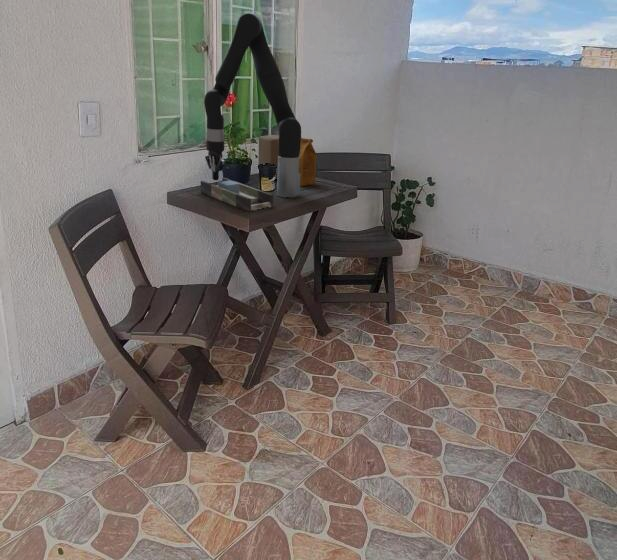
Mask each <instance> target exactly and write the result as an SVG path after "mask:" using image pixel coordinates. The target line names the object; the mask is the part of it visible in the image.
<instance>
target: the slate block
mask: <svg viewBox="0 0 617 560" xmlns="http://www.w3.org/2000/svg"><path fill="white" fill-rule="evenodd" d="M230 180H231V179H229V181H222V180H221V181H218V182H217V185H218V187H221V188H224V189H226V190H229V191H232V192H234V193H239V183H240V182H238V183H236V182H237V181H235V182H233V181H234V180H232V181H230Z"/></svg>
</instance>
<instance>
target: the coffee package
mask: <svg viewBox="0 0 617 560" xmlns="http://www.w3.org/2000/svg"><path fill="white" fill-rule="evenodd" d="M313 142H314V140H313V139H312V138H305V137H304V138H303V137H302V136H301V147H300V154H299V173H300V187H305V186H311V185H312V186H313V185H315V183H316V174H317V173H316V172H317V171H316V167H317V153H316V151H315V148H314V146H313V144H312V143H313Z"/></svg>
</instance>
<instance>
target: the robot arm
mask: <svg viewBox="0 0 617 560" xmlns="http://www.w3.org/2000/svg"><path fill="white" fill-rule="evenodd" d="M248 48H249V49H250V52H251V56H252V60H253V65H254V69H255V73H256V77H257V79H258V82H259V84H260V87H261V89H262V92H263V94H264V96H265V99H266V100H267V102H268V104H269V105H270V107H271V109H272V112H273V115H274V118H275V122H276V125H277V130H278V136H279V148H278V172H277V180H276V184H277V185H276V195H277V196H278V197H281V198H286V197H289V198H290V197H291V198H297V197H298V196H300V190H301V186H300V173H299V154H300V147H301V137H302V127H301V123H300V122H299V121H298V119H297V118H296V115H295V114H294V112H293V110H292V108H291V105H290V104H289V100H288V95H287V91H286V87H285V83H284V80H283V76H282V74H281V71H280V68H279V67H278V64H277V62H276V59H275V57H274V56H273V53H272V51H271V49H270V47H269V44H268V41H267V38H266V34H265V31H264V27H263V22H262V20H261V18H260V17H259V16H258V15H257V14H255V12H245V13H243V14H241V15H240V16H239V17H238V19H237V21H236V26H235V30H234V34H233V37H232V40H231V43H230V46H229V48H228V50H227V52H226V54H225V56H224V59H223V60H222V62H221V65H220V67H219V68H218V70H217V72H216V76H215V77H214V81H215V83H214V86H213V88H212V90H208V91H206V94H205V95H204V100H203V101H204V103H203V104H204V109H205V115H206V135H205V137H206V141H205V142H206V151H208V155H205V156H204V158H205V159H204V160H205V161H206V164H207V167H208V169H209V170H210V171H211V175H212V176H211V177H212V178H211V179H212V180H213V181H218V180H219V179H220V177H219V175H220V174H219V173H220V172H221V171H223V169H224V167H225V165H226V162H227V161H226V159H225V160H224V159H223V152H224V151H225V129H224V127H225V125H224V124H225V119H224V116H223V114H222V108H221V107H222V106H224V104H225V103H226V101H227V100H228V97H229V94H230V90H231V86H232V85H233V83H234V81H235V79H236V77H237V74H238V72H239V70H240V67H241V65H242V62H243V59H244V57H245V54H246V52H247V49H248ZM289 198H288V199H289ZM291 198H290V199H291Z"/></svg>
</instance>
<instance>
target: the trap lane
mask: <svg viewBox="0 0 617 560" xmlns="http://www.w3.org/2000/svg"><path fill="white" fill-rule="evenodd" d="M221 179H222V180H221V182H222V181H229V180H230V181H233V182H236V183H239V193H234V192H232V191H229V190H226V189H224V188H221V187H218V184H217V185H215V184H212V183H210V182H207V181H205V180H200V193H202V194H204V195H207V196H209V197H212V198H214V199H216V200H219V201H221V202H224V203H225V204H229V205H231V206H234V207H236V208H239V209H242V210H244V211H246V210H247V212H252V210H253V211H258V210H257V209H259V210H262V208H264V209H267V208H266V207H269V208H272V207H271V206H273V207H274V194H272V193H269V192H266V191H264V190H260V189H258V188H255V187H252V186H250V185H247V184H244V183H242V182H238V181H235V180H232V179H229V178H227V177H222V178H221Z"/></svg>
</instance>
